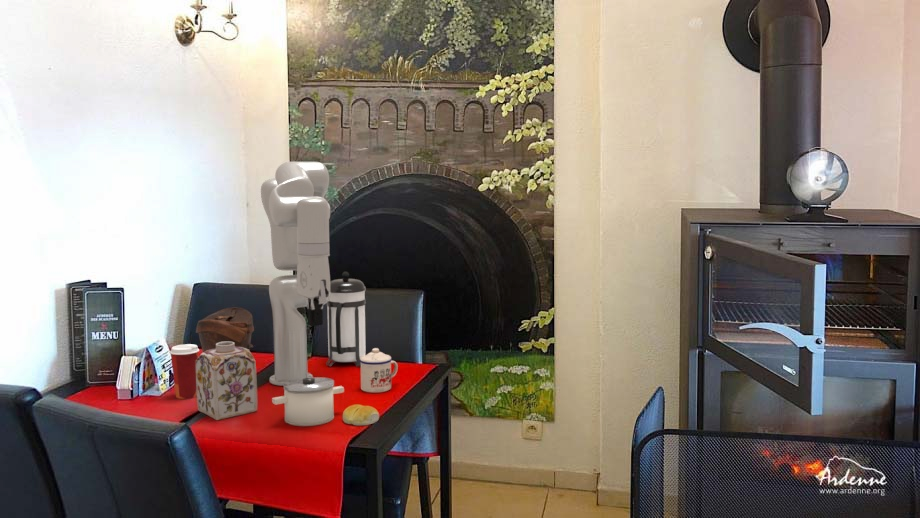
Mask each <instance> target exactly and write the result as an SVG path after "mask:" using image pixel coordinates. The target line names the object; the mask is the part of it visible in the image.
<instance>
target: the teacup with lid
mask: <svg viewBox="0 0 920 518" xmlns="http://www.w3.org/2000/svg"><path fill="white" fill-rule="evenodd" d="M360 362H361V366H360V389H361V391H363V392H365V393H372V394H373V393H374V394H375V393H376V394H377V393H378V394H379V393H384V392H387V391H389V390H391V389H392V379H393V378H394V377H395V376H396V375H397V372H398V367H399V366H398V363H397V362H396V361H395V360H392V356H391V355H390V354H385V353H384V352H382V351H380V349H379V348H378V347H374V348H372V349H371V351H370V352H368V353H366V355H364V356H362V357H361V358H360ZM392 364H393V367H394V368H393V371H392Z"/></svg>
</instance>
